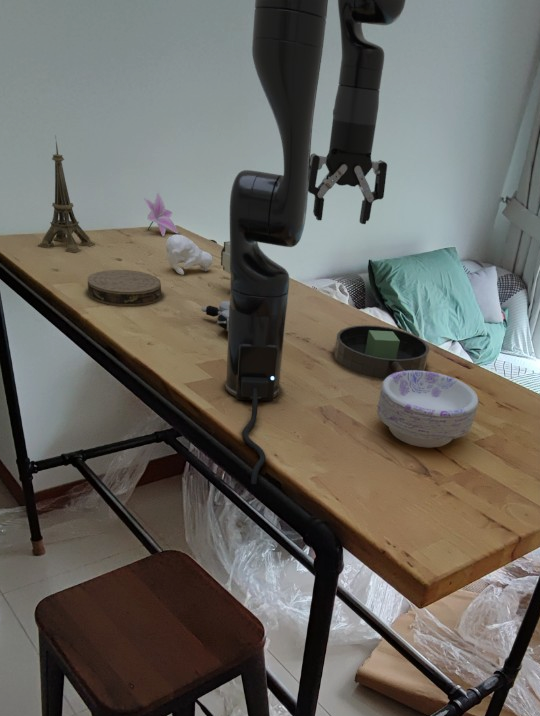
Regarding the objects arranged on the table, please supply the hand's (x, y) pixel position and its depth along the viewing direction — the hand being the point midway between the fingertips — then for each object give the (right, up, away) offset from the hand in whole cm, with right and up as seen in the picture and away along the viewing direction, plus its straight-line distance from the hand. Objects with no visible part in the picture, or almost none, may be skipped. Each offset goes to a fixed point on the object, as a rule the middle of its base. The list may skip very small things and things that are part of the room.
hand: (340, 221), depth 121 cm
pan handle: (+10, -31, -4) cm, 33 cm away
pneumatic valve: (-22, -2, +32) cm, 39 cm away
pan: (+8, -24, +8) cm, 27 cm away
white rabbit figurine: (-35, +9, +43) cm, 56 cm away
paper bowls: (+12, -43, -15) cm, 47 cm away
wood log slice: (-47, -5, +24) cm, 53 cm away
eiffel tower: (-69, +19, +51) cm, 88 cm away
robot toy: (-21, -15, +15) cm, 30 cm away
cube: (+8, -24, +8) cm, 26 cm away
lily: (-49, +32, +71) cm, 92 cm away
